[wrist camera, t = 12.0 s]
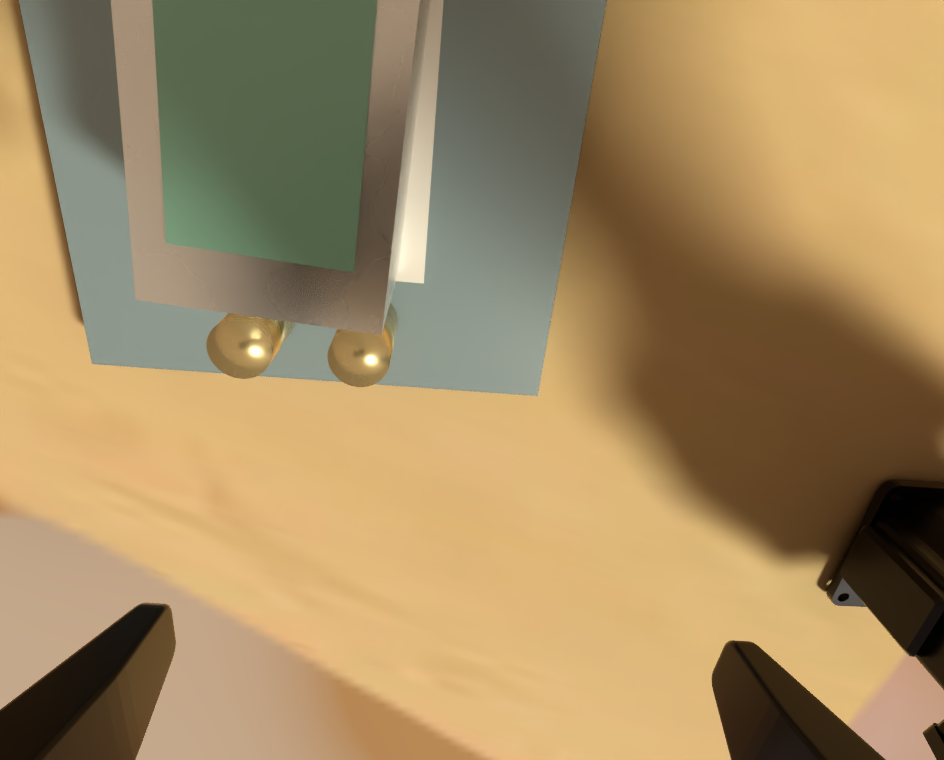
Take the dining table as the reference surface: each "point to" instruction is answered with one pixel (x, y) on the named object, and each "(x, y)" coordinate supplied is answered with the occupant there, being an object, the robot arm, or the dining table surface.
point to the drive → (269, 152)
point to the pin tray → (426, 216)
